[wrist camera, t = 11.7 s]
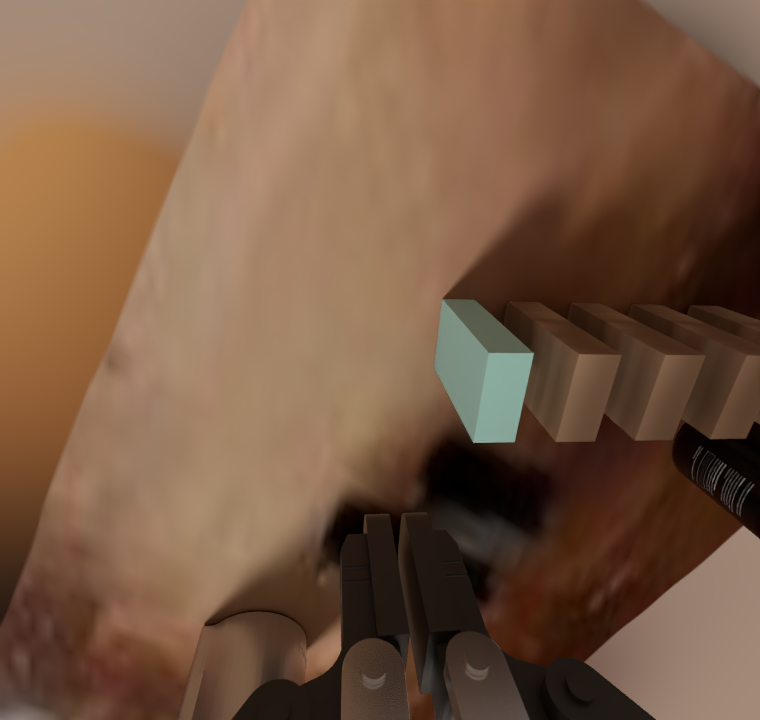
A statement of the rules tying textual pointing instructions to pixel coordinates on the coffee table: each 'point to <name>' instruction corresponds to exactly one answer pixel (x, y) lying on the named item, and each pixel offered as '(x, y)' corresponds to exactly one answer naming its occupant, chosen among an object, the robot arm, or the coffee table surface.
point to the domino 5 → (728, 324)
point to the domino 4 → (713, 372)
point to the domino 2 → (563, 371)
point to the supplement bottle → (724, 471)
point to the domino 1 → (482, 370)
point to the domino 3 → (642, 372)
